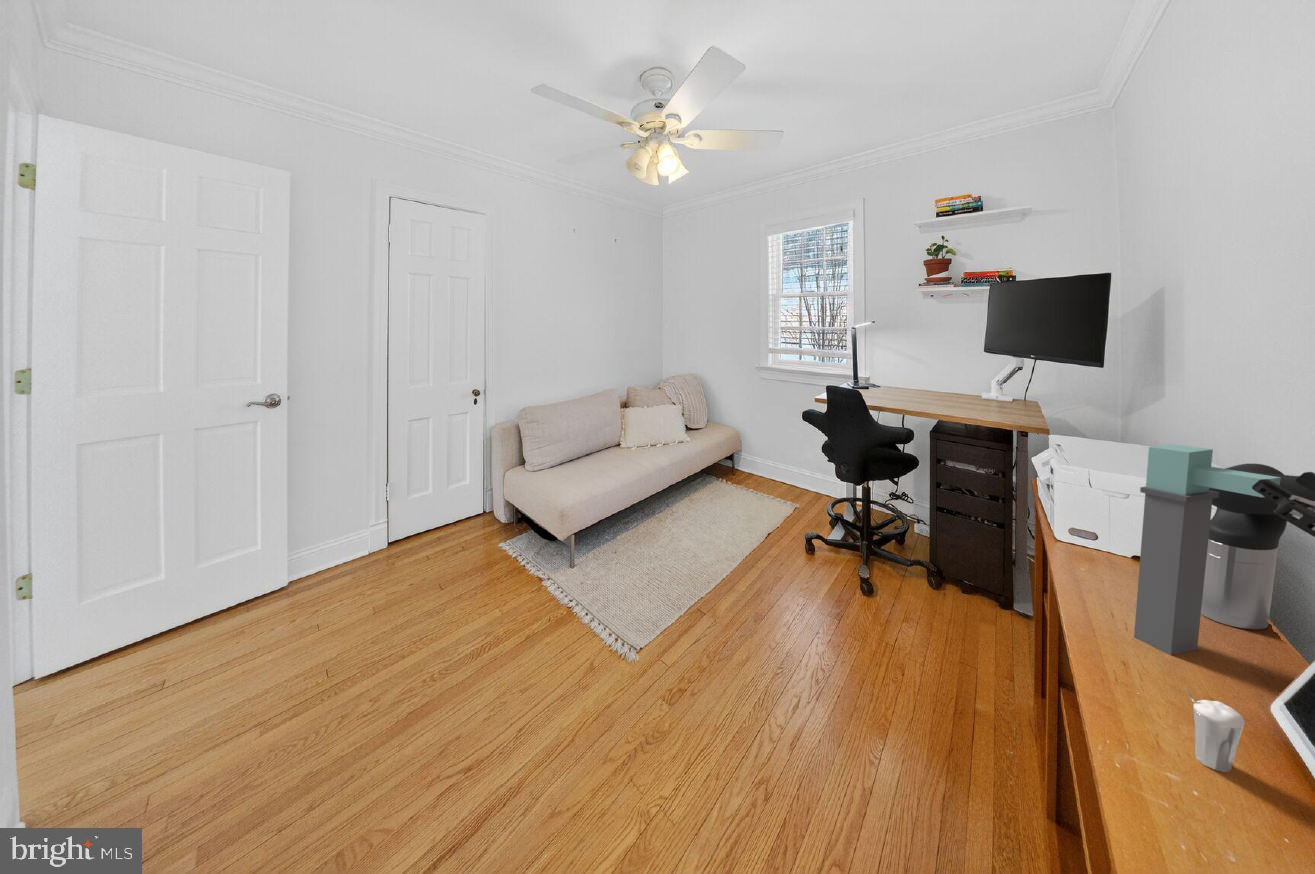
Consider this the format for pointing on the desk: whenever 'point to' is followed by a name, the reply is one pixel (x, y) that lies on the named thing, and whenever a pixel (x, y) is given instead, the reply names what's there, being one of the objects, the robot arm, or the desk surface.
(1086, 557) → the desk surface
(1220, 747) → the milkshake
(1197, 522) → the stand
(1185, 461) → the teal handle
